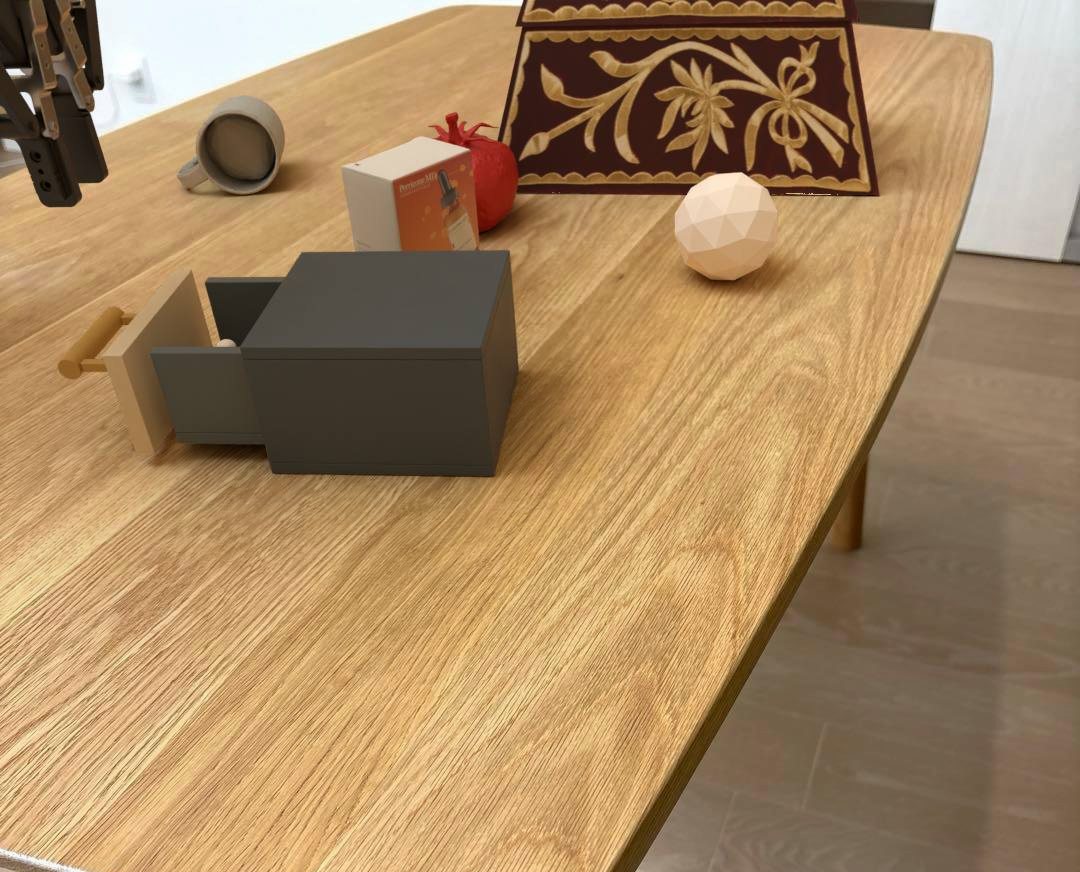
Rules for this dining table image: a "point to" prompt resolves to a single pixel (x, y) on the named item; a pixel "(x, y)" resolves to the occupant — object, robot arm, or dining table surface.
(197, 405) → the drawer
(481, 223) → the pomegranate
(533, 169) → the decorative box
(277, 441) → the cabinet
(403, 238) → the small box
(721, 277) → the geometric ball
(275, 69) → the dining table surface
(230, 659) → the dining table surface
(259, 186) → the ceramic mug
